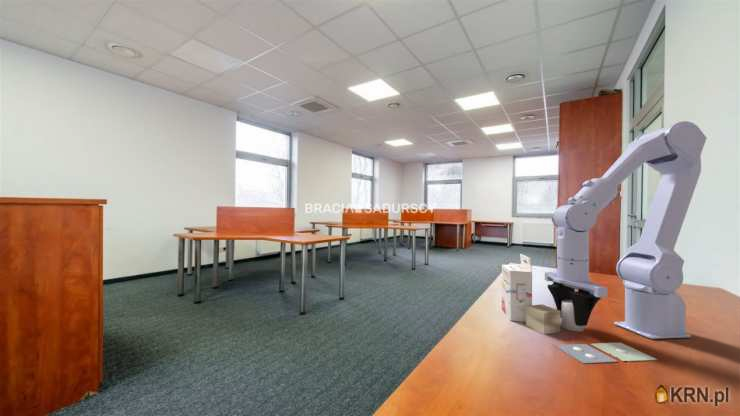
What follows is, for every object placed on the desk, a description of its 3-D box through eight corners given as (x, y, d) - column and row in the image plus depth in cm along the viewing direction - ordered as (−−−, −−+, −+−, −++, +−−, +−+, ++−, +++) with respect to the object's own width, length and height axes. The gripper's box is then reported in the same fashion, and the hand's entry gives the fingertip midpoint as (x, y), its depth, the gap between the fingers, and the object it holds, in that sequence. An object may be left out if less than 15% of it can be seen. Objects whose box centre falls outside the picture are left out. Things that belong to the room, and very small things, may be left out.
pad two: (585, 344, 55) (585, 343, 55) (617, 361, 48) (617, 360, 48) (554, 345, 54) (554, 344, 54) (583, 363, 48) (583, 362, 48)
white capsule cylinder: (573, 324, 65) (573, 299, 65) (588, 331, 61) (588, 305, 61) (557, 324, 65) (557, 299, 65) (571, 331, 61) (571, 305, 61)
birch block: (542, 324, 65) (542, 304, 65) (560, 332, 61) (560, 310, 61) (526, 326, 64) (526, 305, 64) (543, 334, 59) (543, 312, 59)
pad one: (620, 343, 56) (620, 342, 56) (657, 360, 49) (657, 358, 49) (590, 344, 55) (590, 343, 55) (623, 361, 48) (623, 360, 48)
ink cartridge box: (500, 309, 75) (500, 252, 75) (521, 310, 74) (521, 253, 74) (509, 321, 66) (509, 257, 66) (533, 323, 65) (533, 258, 66)
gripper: (533, 254, 70) (532, 310, 70) (584, 264, 56) (584, 335, 55) (559, 254, 71) (559, 309, 70) (616, 264, 56) (616, 334, 56)
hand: (572, 321), depth 63 cm, fingers closed on white capsule cylinder, 4 cm apart
